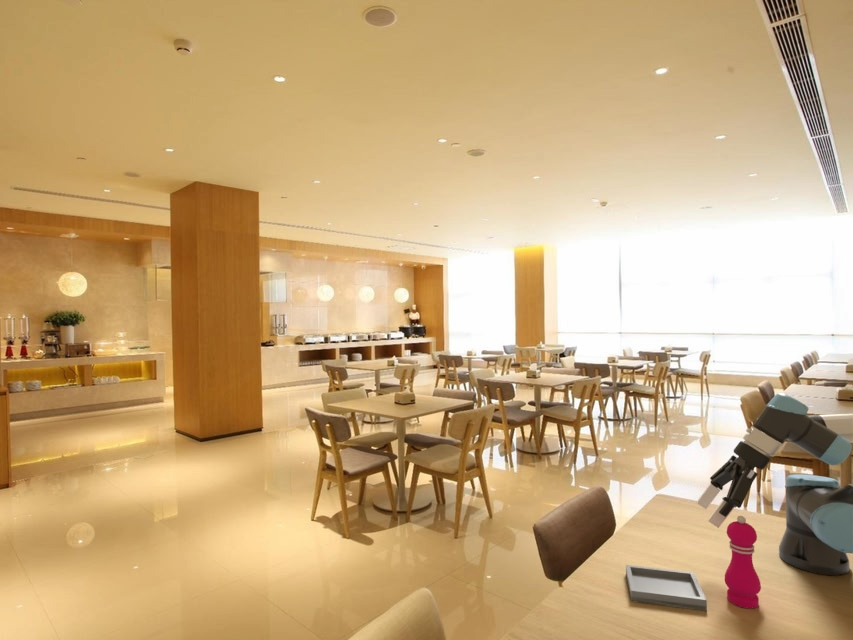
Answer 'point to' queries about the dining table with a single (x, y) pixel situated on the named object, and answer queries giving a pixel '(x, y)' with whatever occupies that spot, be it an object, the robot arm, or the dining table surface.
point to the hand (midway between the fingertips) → (706, 514)
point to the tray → (665, 587)
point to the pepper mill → (742, 565)
